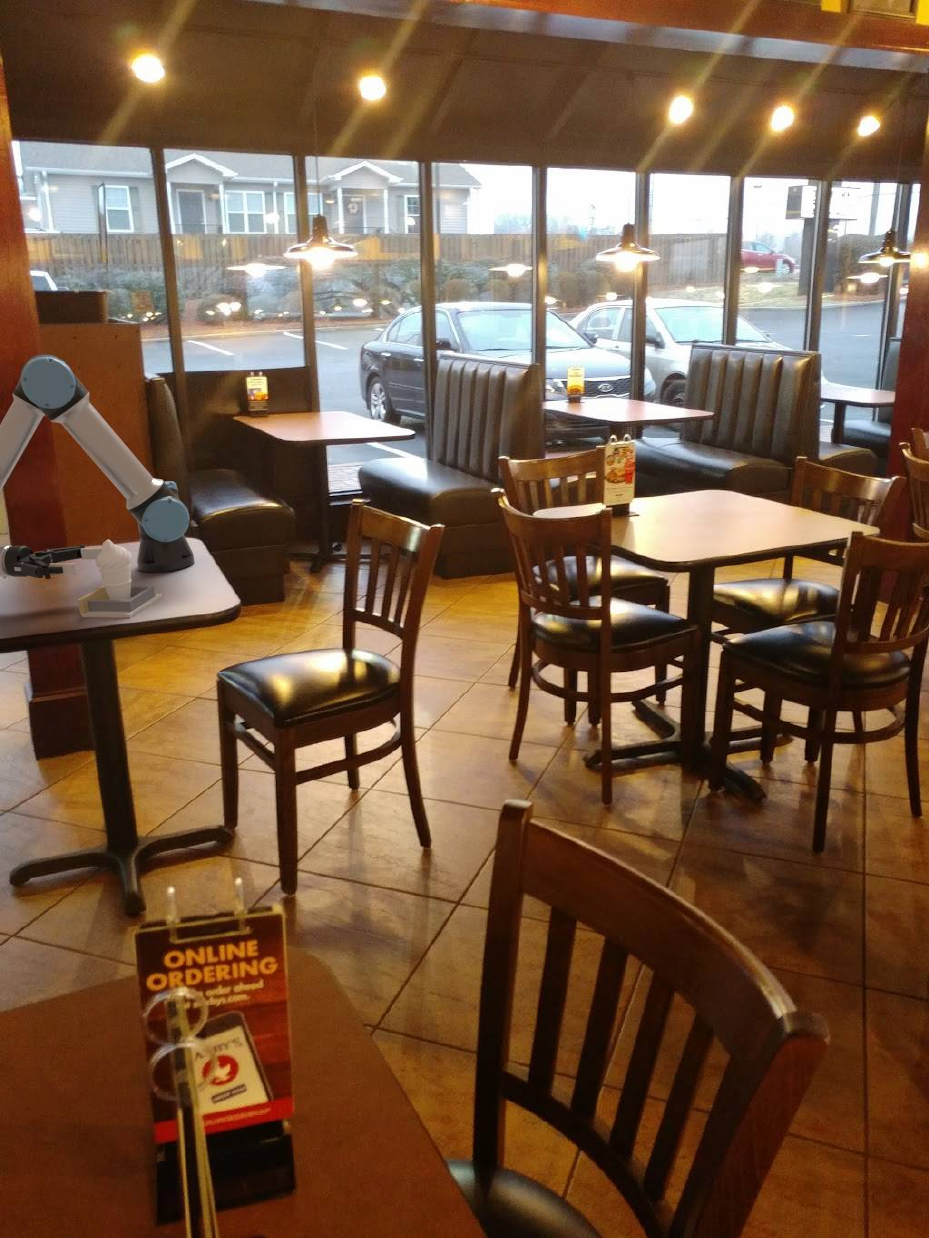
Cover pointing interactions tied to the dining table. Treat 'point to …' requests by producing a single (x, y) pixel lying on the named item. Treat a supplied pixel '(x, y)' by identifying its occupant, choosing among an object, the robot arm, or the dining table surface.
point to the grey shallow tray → (116, 603)
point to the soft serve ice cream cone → (115, 570)
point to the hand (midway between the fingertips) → (92, 561)
